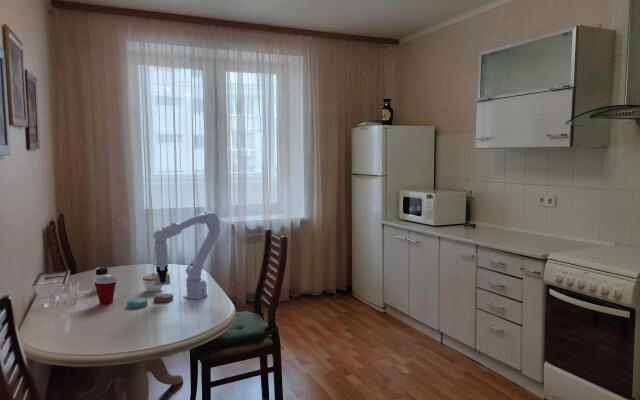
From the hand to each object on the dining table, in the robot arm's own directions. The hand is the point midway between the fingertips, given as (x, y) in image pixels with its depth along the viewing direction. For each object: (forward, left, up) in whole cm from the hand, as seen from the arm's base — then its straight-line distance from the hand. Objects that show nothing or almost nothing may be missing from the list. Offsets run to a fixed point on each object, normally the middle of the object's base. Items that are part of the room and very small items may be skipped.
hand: (162, 281), depth 232 cm
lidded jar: (+17, -11, -10) cm, 23 cm away
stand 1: (+6, +11, -10) cm, 16 cm away
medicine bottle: (+44, -1, -10) cm, 45 cm away
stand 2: (0, 0, -10) cm, 10 cm away
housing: (0, 0, -1) cm, 1 cm away
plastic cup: (+23, +14, -10) cm, 29 cm away
